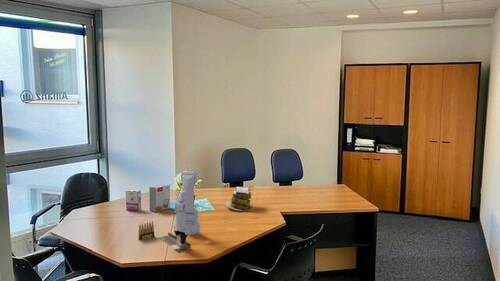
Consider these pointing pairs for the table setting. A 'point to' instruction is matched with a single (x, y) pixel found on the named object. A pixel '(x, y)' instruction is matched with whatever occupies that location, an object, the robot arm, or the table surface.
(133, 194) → the candy bar box
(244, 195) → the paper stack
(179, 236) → the block
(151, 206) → the hard drive box
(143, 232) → the ammunition clip
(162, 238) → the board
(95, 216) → the table surface
